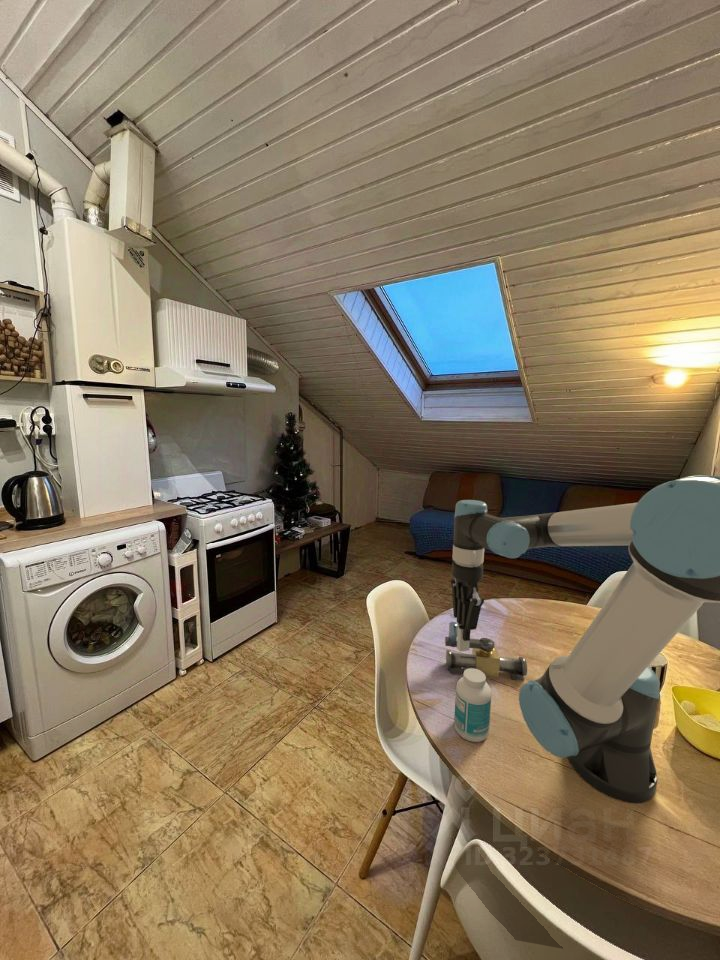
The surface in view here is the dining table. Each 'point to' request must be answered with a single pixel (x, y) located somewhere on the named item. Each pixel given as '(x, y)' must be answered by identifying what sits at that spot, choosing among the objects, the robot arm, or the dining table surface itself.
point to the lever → (481, 644)
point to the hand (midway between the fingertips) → (462, 649)
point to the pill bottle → (472, 706)
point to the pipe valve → (487, 663)
